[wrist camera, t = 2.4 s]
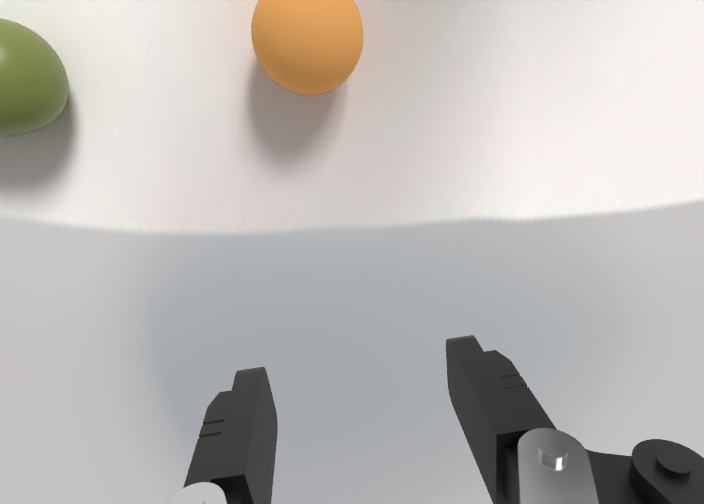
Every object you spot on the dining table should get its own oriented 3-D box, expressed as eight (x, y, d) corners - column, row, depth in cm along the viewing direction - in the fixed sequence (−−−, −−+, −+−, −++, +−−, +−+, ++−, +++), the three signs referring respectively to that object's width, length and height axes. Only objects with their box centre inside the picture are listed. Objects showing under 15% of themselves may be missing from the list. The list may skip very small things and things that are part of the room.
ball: (238, 14, 24) (218, 1, 19) (328, -39, 23) (333, -67, 18) (290, 108, 26) (285, 120, 21) (374, 62, 26) (389, 62, 21)
